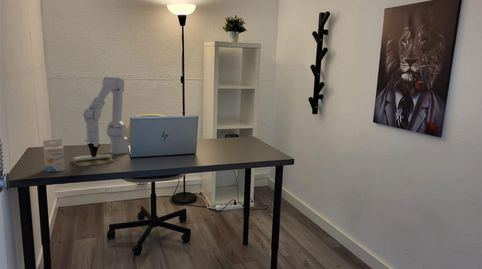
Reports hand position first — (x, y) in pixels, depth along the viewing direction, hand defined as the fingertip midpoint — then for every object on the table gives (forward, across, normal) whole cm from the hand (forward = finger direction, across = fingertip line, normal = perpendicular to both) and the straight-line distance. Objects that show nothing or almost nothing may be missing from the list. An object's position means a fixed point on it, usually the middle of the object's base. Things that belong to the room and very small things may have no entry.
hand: (93, 156), depth 189 cm
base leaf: (+3, -2, 0) cm, 4 cm away
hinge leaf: (+2, -3, 0) cm, 4 cm away
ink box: (+3, +5, -19) cm, 20 cm away
